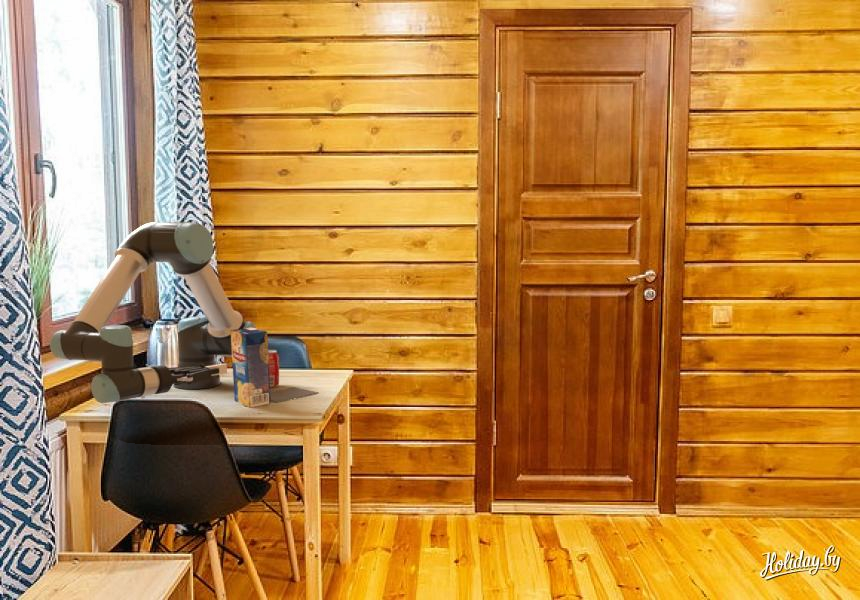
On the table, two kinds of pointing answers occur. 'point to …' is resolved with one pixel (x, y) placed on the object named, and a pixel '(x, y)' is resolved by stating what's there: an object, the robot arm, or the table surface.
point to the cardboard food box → (250, 366)
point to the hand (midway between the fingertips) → (225, 368)
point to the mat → (289, 394)
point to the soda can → (273, 368)
